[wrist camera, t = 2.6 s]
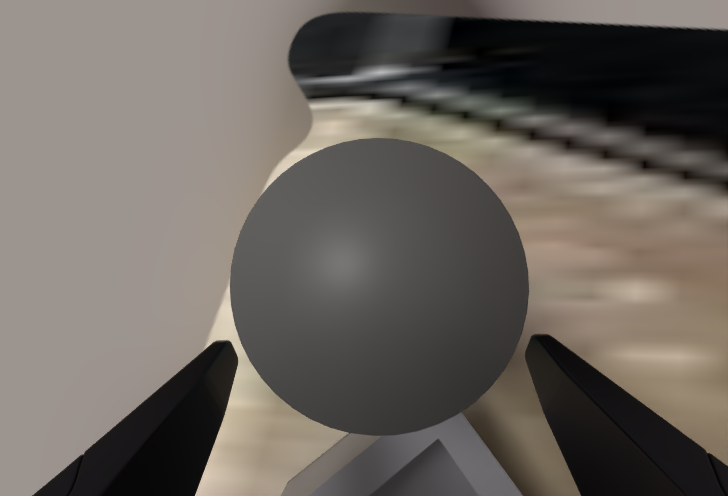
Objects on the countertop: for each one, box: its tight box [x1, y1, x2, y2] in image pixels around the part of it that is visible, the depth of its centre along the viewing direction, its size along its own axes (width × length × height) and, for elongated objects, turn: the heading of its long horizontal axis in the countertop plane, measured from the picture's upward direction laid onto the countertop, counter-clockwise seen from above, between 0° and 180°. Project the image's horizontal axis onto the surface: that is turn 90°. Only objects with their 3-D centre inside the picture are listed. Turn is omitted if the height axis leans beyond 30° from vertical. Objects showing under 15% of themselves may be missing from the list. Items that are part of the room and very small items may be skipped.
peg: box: [230, 138, 529, 436], centre depth 12 cm, size 6×6×13 cm
